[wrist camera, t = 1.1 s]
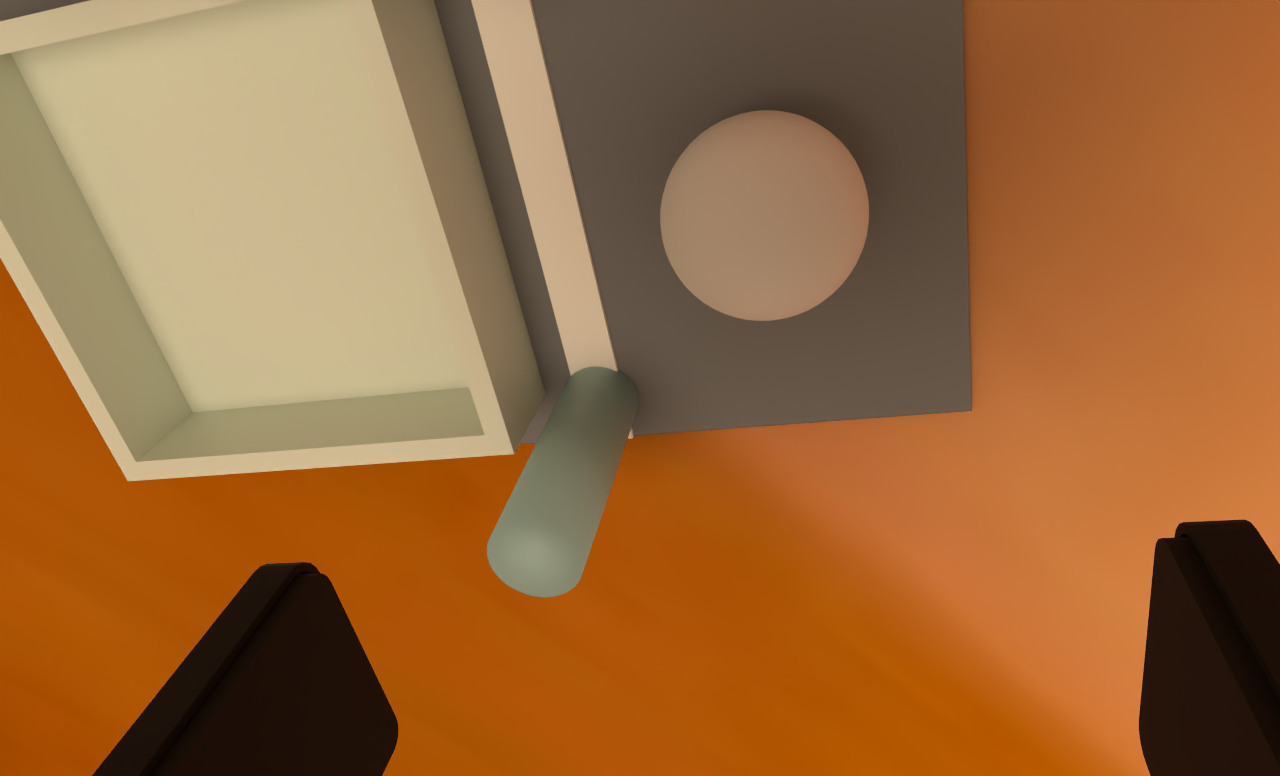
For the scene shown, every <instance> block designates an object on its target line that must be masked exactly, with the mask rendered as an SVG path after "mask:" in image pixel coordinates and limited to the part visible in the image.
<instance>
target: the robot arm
mask: <svg viewBox="0 0 1280 776" xmlns="http://www.w3.org/2000/svg"><path fill="white" fill-rule="evenodd" d="M1139 734H1140V741H1141V746H1142V751H1143V755H1144V758H1145V761H1146V764H1147V767H1148V770H1149V772H1150V775H1151V776H1280V564H1279V563H1278V561H1277V560H1276V558H1275V557H1274V555H1273V554H1272V552H1271V551H1270V549H1269V548H1268V546H1267V544H1266V543H1265V541H1264V540H1263V538H1262V537H1261V535H1260V534H1259V532H1258V531H1257V529H1256V528H1255V527H1254V526H1253V525H1252V523H1251V522H1249V521H1247V520H1226V521H1204V522H1183V523H1180V524H1179V525H1178V527H1177V529H1176V532H1175V537H1174V538H1161V539H1158V541H1157V543H1156V547H1155V555H1154V566H1153V576H1152V587H1151V598H1150V608H1149V619H1148V630H1147V640H1146V651H1145V662H1144V672H1143V683H1142V694H1141V704H1140V715H1139ZM397 738H398V723H397V719H396V716H395V714H394V712H393V710H392V708H391V706H390V704H389V702H388V700H387V698H386V696H385V693H384V691H383V689H382V687H381V685H380V683H379V681H378V679H377V677H376V675H375V673H374V671H373V669H372V666H371V664H370V662H369V660H368V658H367V656H366V654H365V652H364V650H363V648H362V646H361V644H360V641H359V639H358V637H357V635H356V633H355V631H354V629H353V627H352V625H351V623H350V621H349V619H348V616H347V614H346V612H345V610H344V608H343V606H342V604H341V602H340V600H339V598H338V596H337V594H336V592H335V589H334V587H333V585H332V583H331V581H330V580H329V578H328V577H327V576H326V575H324V574H320V572H319V571H318V569H317V568H316V567H315V566H314V565H312V564H311V563H305V562H300V563H278V564H266V565H263V566H261V567H259V568H258V569H257V570H256V571H255V572H254V573H253V574H252V576H251V577H250V578H249V579H248V581H247V582H246V583H245V584H244V586H243V587H242V588H241V589H240V591H239V592H238V593H237V594H236V596H235V597H234V598H233V599H232V601H231V602H230V603H229V604H228V606H227V607H226V608H225V609H224V611H223V612H222V613H221V615H220V616H219V617H218V618H217V620H216V621H215V622H214V623H213V625H212V626H211V627H210V628H209V630H208V631H207V632H206V633H205V635H204V636H203V637H202V638H201V640H200V641H199V642H198V643H197V645H196V646H195V647H194V648H193V650H192V651H191V652H190V653H189V655H188V656H187V657H186V658H185V660H184V661H183V662H182V664H181V665H180V666H179V667H178V669H177V670H176V671H175V672H174V674H173V675H172V676H171V677H170V679H169V680H168V681H167V682H166V684H165V685H164V686H163V687H162V689H161V690H160V691H159V692H158V694H157V695H156V696H155V697H154V699H153V700H152V701H151V702H150V704H149V705H148V706H147V707H146V709H145V710H144V711H143V712H142V714H141V715H140V716H139V718H138V719H137V720H136V721H135V723H134V724H133V725H132V726H131V728H130V729H129V730H128V731H127V733H126V734H125V735H124V736H123V738H122V739H121V740H120V741H119V743H118V744H117V745H116V746H115V748H114V749H113V750H112V751H111V753H110V754H109V755H108V756H107V758H106V759H105V760H104V761H103V763H102V764H101V765H100V766H99V768H98V769H97V770H96V772H95V773H94V774H93V775H92V776H382V775H383V773H384V770H385V768H386V766H387V764H388V762H389V760H390V758H391V756H392V754H393V752H394V749H395V746H396V743H397Z"/></svg>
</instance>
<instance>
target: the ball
mask: <svg viewBox="0 0 1280 776" xmlns="http://www.w3.org/2000/svg"><path fill="white" fill-rule="evenodd" d="M868 224H869V201H868V194H867V189H866V186H865V182H864V179H863V176H862V174H861V172H860V169H859V167H858V165H857V163H856V161H855V159H854V158H853V156H852V155H851V153H850V152H849V150H848V149H847V148H846V147H845V146H844V144H843V143H842V142H841V141H840V140H839V139H838V138H837V137H836V136H834V135H833V134H832V133H831V132H830V131H828V130H827V129H825V128H824V127H822V126H821V125H819V124H818V123H816V122H814V121H812V120H810V119H808V118H805V117H803V116H800V115H796V114H793V113H789V112H783V111H774V110H761V111H751V112H746V113H742V114H738V115H735V116H732V117H730V118H727V119H724V120H722V121H720V122H718V123H716V124H715V125H713V126H711V127H710V128H708V129H707V130H705V131H704V132H703V133H701V134H700V135H699V136H698V137H697V138H696V139H694V140H693V141H692V142H691V143H690V144H689V146H688V147H687V148H686V149H685V150H684V152H683V153H682V154H681V155H680V157H679V158H678V160H677V162H676V163H675V165H674V166H673V168H672V170H671V172H670V175H669V177H668V179H667V182H666V186H665V189H664V192H663V196H662V202H661V209H660V225H661V233H662V241H663V244H664V248H665V252H666V254H667V257H668V259H669V262H670V264H671V266H672V267H673V269H674V271H675V273H676V274H677V276H678V277H679V279H680V280H681V281H682V283H683V284H684V285H685V287H686V288H687V289H688V290H689V291H690V292H691V293H692V294H693V295H694V296H696V297H697V298H698V299H699V300H701V301H702V302H703V303H705V304H706V305H708V306H710V307H711V308H713V309H715V310H717V311H719V312H721V313H724V314H726V315H729V316H732V317H736V318H740V319H745V320H754V321H771V320H779V319H785V318H788V317H792V316H795V315H798V314H801V313H803V312H805V311H808V310H810V309H812V308H813V307H815V306H817V305H819V304H820V303H821V302H823V301H824V300H825V299H827V298H828V297H829V296H831V295H832V294H833V293H834V292H835V291H836V290H837V289H838V288H839V287H840V286H841V285H842V284H843V283H844V281H845V280H846V279H847V278H848V276H849V275H850V273H851V272H852V270H853V268H854V267H855V265H856V263H857V261H858V259H859V257H860V255H861V252H862V250H863V247H864V244H865V240H866V237H867V231H868Z"/></svg>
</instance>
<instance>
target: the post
mask: <svg viewBox="0 0 1280 776" xmlns="http://www.w3.org/2000/svg"><path fill="white" fill-rule="evenodd" d="M638 406H639V396H638V392H637V389H636V387H635V385H634V383H633V382H632V381H631V379H630V378H629V377H628V376H627V375H626V374H624V373H623V372H622V371H620V370H618V371H614V370H612V369H609V368H605V367H598V366H594V367H587V368H583V369H581V370H578V371H577V372H575V373H574V374H573V375H572V376H570V377H569V378H568V380H567V382H566V384H565V386H564V388H563V390H562V392H561V394H560V396H559V398H558V400H557V402H556V404H555V406H554V408H553V410H552V412H551V414H550V417H549V419H548V421H547V423H546V425H545V427H544V429H543V431H542V433H541V435H540V437H539V439H538V441H537V443H536V445H535V447H534V449H533V451H532V453H531V455H530V457H529V459H528V461H527V463H526V465H525V467H524V469H523V471H522V473H521V475H520V478H519V480H518V482H517V484H516V486H515V488H514V490H513V492H512V494H511V496H510V498H509V500H508V502H507V504H506V506H505V508H504V510H503V512H502V514H501V516H500V518H499V520H498V522H497V524H496V526H495V528H494V530H493V532H492V534H491V536H490V539H489V541H488V545H487V557H488V561H489V563H490V566H491V567H492V569H493V571H494V572H495V573H496V575H497V576H498V577H499V578H500V579H501V580H502V581H503V582H504V583H506V584H507V585H508V586H510V587H511V588H513V589H515V590H517V591H519V592H522V593H525V594H528V595H532V596H537V597H553V596H558V595H561V594H564V593H566V592H568V591H570V590H571V589H573V588H574V587H575V586H576V585H577V583H578V582H579V580H580V578H581V576H582V573H583V570H584V567H585V564H586V561H587V558H588V555H589V552H590V549H591V546H592V543H593V540H594V538H595V535H596V532H597V529H598V526H599V523H600V520H601V517H602V514H603V511H604V508H605V505H606V502H607V499H608V496H609V493H610V490H611V487H612V484H613V481H614V478H615V475H616V472H617V469H618V466H619V463H620V460H621V457H622V454H623V451H624V448H625V445H626V442H627V439H628V436H629V433H630V430H631V427H632V425H633V422H634V419H635V416H636V413H637V410H638Z"/></svg>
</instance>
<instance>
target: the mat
mask: <svg viewBox="0 0 1280 776" xmlns="http://www.w3.org/2000/svg"><path fill="white" fill-rule="evenodd" d="M85 1H90V0H0V21H4V20H9V19H13V18H17V17H21V16H26V15H30V14H34V13H39V12H43V11H47V10H51V9H56V8H60V7H64V6H68V5H73V4H77V3H81V2H85ZM434 3H435V6H436V10H437V13H438V17H439V20H440V24H441V27H442V31H443V35H444V38H445V42H446V45H447V49H448V52H449V56H450V59H451V63H452V66H453V70H454V73H455V77H456V80H457V84H458V87H459V91H460V94H461V98H462V101H463V105H464V109H465V112H466V116H467V119H468V123H469V126H470V130H471V133H472V137H473V140H474V144H475V147H476V151H477V154H478V158H479V161H480V165H481V168H482V172H483V176H484V179H485V183H486V186H487V190H488V193H489V197H490V200H491V204H492V207H493V211H494V214H495V218H496V221H497V225H498V228H499V232H500V235H501V239H502V242H503V246H504V250H505V253H506V257H507V260H508V264H509V267H510V271H511V274H512V278H513V281H514V285H515V288H516V292H517V295H518V299H519V302H520V306H521V309H522V313H523V317H524V320H525V324H526V327H527V331H528V334H529V338H530V341H531V345H532V348H533V352H534V355H535V359H536V362H537V366H538V369H539V373H540V376H541V380H542V383H543V387H544V391H545V396H544V398H543V400H542V402H541V403H540V405H539V407H538V409H537V411H536V413H535V415H534V417H533V419H532V421H531V423H530V425H529V426H528V428H527V430H526V432H525V434H524V436H523V438H522V440H521V442H520V444H526V443H537V441H538V439H539V437H540V435H541V433H542V431H543V429H544V427H545V425H546V423H547V421H548V419H549V417H550V414H551V412H552V410H553V408H554V406H555V404H556V402H557V400H558V398H559V396H560V394H561V392H562V390H563V388H564V386H565V384H566V382H567V380H568V378H569V377H570V376H572V375H573V374H574V373H575V372H577V371H578V370H581V369H583V368H587V367H594V366H598V367H605V368H609V369H612V370H614V371H618V370H620V371H622V372H623V373H624V374H626V375H627V376H628V377H629V378H630V379H631V381H632V382H633V383H634V385H635V387H636V389H637V392H638V396H639V406H638V410H637V413H636V416H635V419H634V422H633V425H632V427H631V430H630V433H629V436H628V439H630V438H633V437H634V436H635V435H649V434H662V433H676V432H690V431H703V430H717V429H731V428H744V427H758V426H772V425H785V424H799V423H813V422H826V421H840V420H854V419H867V418H881V417H894V416H908V415H922V414H935V413H949V412H963V411H972V401H971V357H970V312H969V267H968V222H967V177H966V132H965V87H964V43H963V0H434ZM761 110H774V111H783V112H789V113H793V114H796V115H800V116H803V117H805V118H808V119H810V120H812V121H814V122H816V123H818V124H819V125H821V126H822V127H824V128H825V129H827V130H828V131H830V132H831V133H832V134H833V135H834V136H836V137H837V138H838V139H839V140H840V141H841V142H842V143H843V144H844V146H845V147H846V148H847V149H848V150H849V152H850V153H851V155H852V156H853V158H854V159H855V161H856V163H857V165H858V167H859V169H860V172H861V174H862V176H863V179H864V182H865V186H866V189H867V194H868V201H869V224H868V231H867V237H866V240H865V244H864V247H863V250H862V252H861V255H860V257H859V259H858V261H857V263H856V265H855V267H854V268H853V270H852V272H851V273H850V275H849V276H848V278H847V279H846V280H845V281H844V283H843V284H842V285H841V286H840V287H839V288H838V289H837V290H836V291H835V292H834V293H833V294H832V295H831V296H829V297H828V298H827V299H825V300H824V301H823V302H821V303H820V304H819V305H817V306H815V307H813V308H812V309H810V310H808V311H805V312H803V313H801V314H798V315H795V316H792V317H788V318H785V319H779V320H771V321H754V320H745V319H740V318H736V317H732V316H729V315H726V314H724V313H721V312H719V311H717V310H715V309H713V308H711V307H710V306H708V305H706V304H705V303H703V302H702V301H701V300H699V299H698V298H697V297H696V296H694V295H693V294H692V293H691V292H690V291H689V290H688V289H687V288H686V287H685V285H684V284H683V283H682V281H681V280H680V279H679V277H678V276H677V274H676V273H675V271H674V269H673V267H672V266H671V264H670V262H669V259H668V257H667V254H666V252H665V248H664V244H663V241H662V233H661V225H660V209H661V202H662V196H663V192H664V189H665V186H666V182H667V179H668V177H669V175H670V172H671V170H672V168H673V166H674V165H675V163H676V162H677V160H678V158H679V157H680V155H681V154H682V153H683V152H684V150H685V149H686V148H687V147H688V146H689V144H690V143H691V142H692V141H693V140H694V139H696V138H697V137H698V136H699V135H700V134H701V133H703V132H704V131H705V130H707V129H708V128H710V127H711V126H713V125H715V124H716V123H718V122H720V121H722V120H724V119H727V118H730V117H732V116H735V115H738V114H742V113H746V112H751V111H761Z"/></svg>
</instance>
